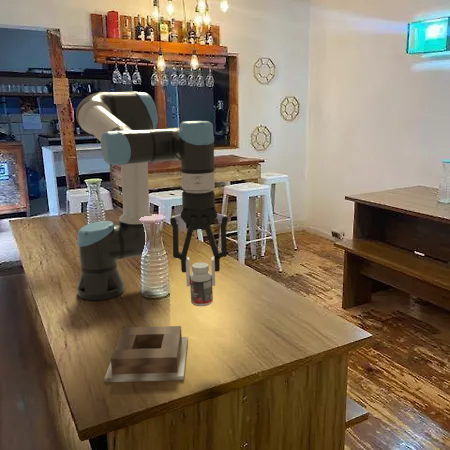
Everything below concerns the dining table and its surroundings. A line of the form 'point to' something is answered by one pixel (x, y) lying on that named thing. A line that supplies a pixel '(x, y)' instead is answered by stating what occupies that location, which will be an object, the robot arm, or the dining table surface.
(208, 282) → the pill bottle
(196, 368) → the dining table surface
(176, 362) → the socket block
